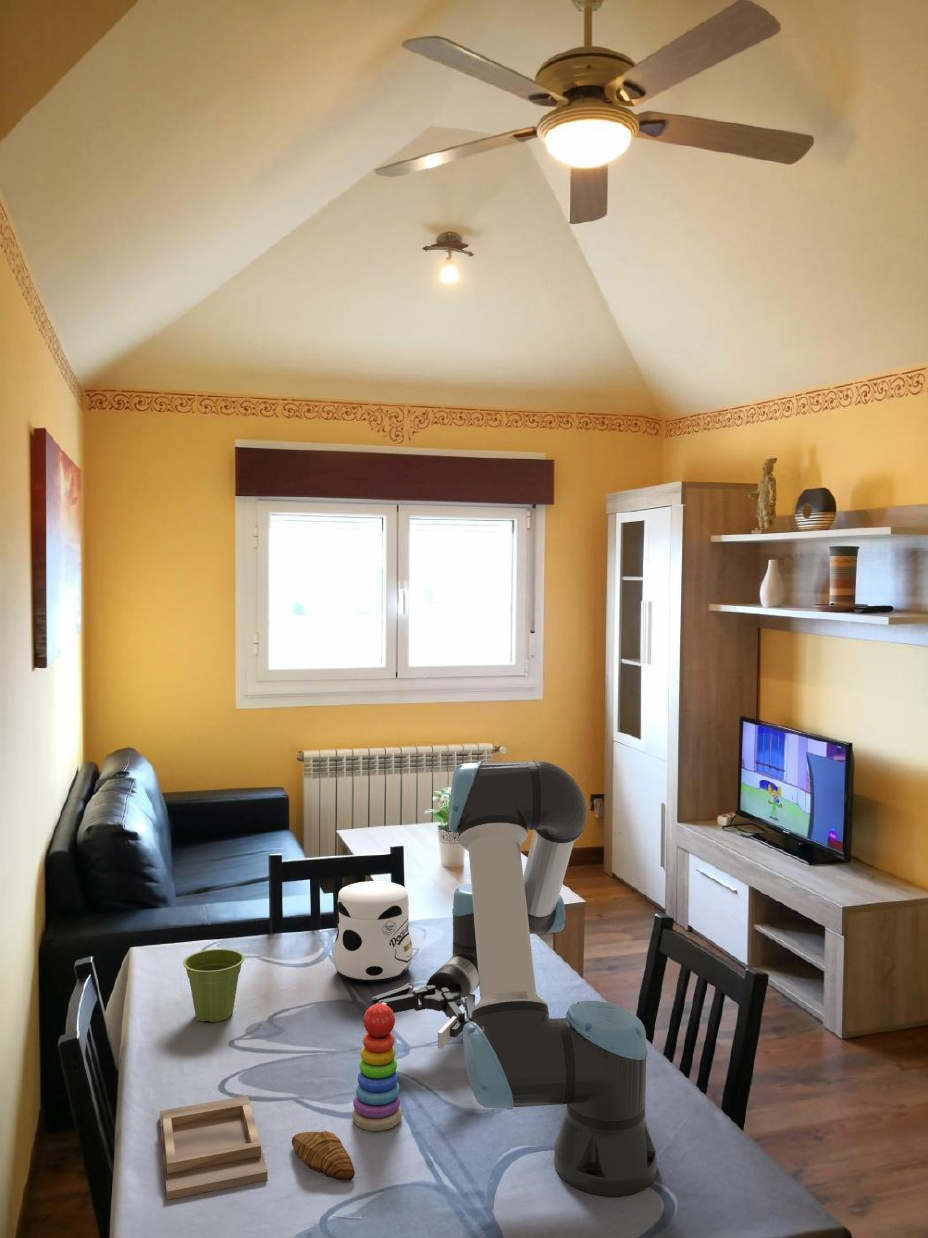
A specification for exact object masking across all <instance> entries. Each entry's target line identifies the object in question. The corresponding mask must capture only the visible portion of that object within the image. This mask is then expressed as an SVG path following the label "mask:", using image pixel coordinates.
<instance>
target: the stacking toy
mask: <svg viewBox="0 0 928 1238" xmlns="http://www.w3.org/2000/svg"><path fill="white" fill-rule="evenodd" d="M395 1017H396V1015H395V1013H393V1011H392V1009H391V1008H390V1007H389V1006H387V1005H385V1004H375V1005H372V1006H371V1005H370V1006H369V1007H368V1008H367V1010H366V1011H365V1013H364V1014H363V1027H364V1029H365V1032H366V1031H367V1032H368V1033H366V1034H365V1035H364V1037H363V1040H362V1044H363V1047H362V1048H361V1051H360V1057H361V1059H360V1061H359V1070H360V1071H359V1073H358V1074H357V1082H358V1084H356V1089H355V1096H354V1098H353V1102H352V1104H353V1109H352V1113H351V1118H352V1121H353V1123H354V1124H355V1125H356V1126H357V1127H359V1128H361V1129H362V1130H365V1131H370V1132H381V1131H386V1130H389V1129H391V1128H394V1127H395V1126H397V1124H399V1123H400V1121H401V1119H402V1116H403V1112H402V1107H401V1105H400V1103H401V1098H400V1097H401V1096H400V1095H399V1094H400V1090H401V1089H400V1088H401V1087H400V1084H399V1083H398V1080H399V1074H398V1072H397V1067H398V1062H397V1059H396V1058H395V1057H396V1050H395V1048H394V1045H395V1037H394V1034H393V1033H392V1031H393V1029H394V1027H395V1024H396V1018H395Z"/></svg>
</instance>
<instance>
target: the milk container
mask: <svg viewBox="0 0 928 1238" xmlns="http://www.w3.org/2000/svg"><path fill="white" fill-rule="evenodd" d="M409 912H410V910H409V894H408V890H407V888H406V887H405V886H403V885H401V884H399V883H397V882H396V883H395V882H390V881H383V880H382V881H381V880H380V881H376V880H375V881H374V880H372V881H360V882H359V881H358V882H355V883H350V884H348V885H346V886H344V887H342V888H340V890H339V891H338V897H337V917H336V918H337V933H336V937H335V942H334V945H333V961H334V965H335V969H336V971H337V972H338V973H339V974H340V975H342V977H345V978H347V979H349V980H352V981H357V982H362V983H364V982H365V983H369V982H370V983H378V982H385V981H386V982H387V981H390V980H392V979H396V978H398V977H399V976H401V975H403V974H404V973H406V972H407V971H408V970H409V968H410V966H411V964H412V960H413V952H414V951H413V943H412V937H411V935H410V931H409V916H410V915H409Z"/></svg>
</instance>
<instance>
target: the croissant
mask: <svg viewBox="0 0 928 1238" xmlns="http://www.w3.org/2000/svg"><path fill="white" fill-rule="evenodd" d="M291 1145H292V1148H293V1150H294V1152H295V1154H296V1156H297V1158H298V1159H300V1160H301V1161H302V1163H303V1164H304V1165H305V1166H306V1167H307V1168H308V1169H309V1170H312V1171H314V1172H316V1173H319V1174H321V1175H323V1176H326V1177H327V1178H330V1179H332V1180H336V1181H339V1182H340V1181H341V1182H351V1181H352V1180H353V1179H354V1177H355V1168H354V1165H353V1162H352V1159H351V1156H350V1154H349V1152H348V1151H347V1150H346V1148H345V1147H344V1145H343V1143H342V1141H341V1139H340V1138H339V1137H338V1136H337V1135H336V1134H334V1133H333V1132H330V1131H327V1130H324V1131H304V1132H299V1133H296V1134H295V1135H293V1136H292V1137H291Z"/></svg>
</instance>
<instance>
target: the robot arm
mask: <svg viewBox="0 0 928 1238" xmlns="http://www.w3.org/2000/svg"><path fill="white" fill-rule="evenodd" d="M450 787H451V789H450V797H449V806H448V807H449V809H448V823H447V824H448V831H449V832H451V833H453V834H457V836H458V843H459V845H460V846H461V847H462V848H463V849H465V850H466V851H468V857H469V860H468V861H469V870H470V871H469V872H470V873H469V874H470V882H471V883H469V884H462V885H460V886H458V887H457V888H456V889H455V890H454V892H453V900H452V901H453V902H452V903H453V904H452V955H451V957H450V959H448V960H447V961H446V962H445V963H444V964H443V965H442V966H441V967H440V968H439V969H437V970H436V971H435V972H434V974H432V975H431V976H430V977H429V979H428V981H427V982H426V985H424V986H422V987H419V988H417V987H414V983H413V982H408V983H406V984H404V985H403V986H401V987H398V988H395V989H392V990H388V991H387V992H383V993H381V994H377V995H373V996H372V997H371V998H370V999H371V1001H370V1003H371V1004H370V1007H371V1006H372V1005H375V1004H385V1005H387V1006H389V1007H390V1008H391V1009H392V1011H393V1013H394V1014H397V1013H402V1012H407V1011H411V1010H414V1011H416V1012H419V1011H423V1010H433V1011H436V1012H442V1013H444V1015H445V1016H446V1018H449V1020H448V1021H447V1022H446V1023H445V1024H444V1025H443V1026H442V1027H441V1028H440V1029H439V1030H438V1031H437V1048H438V1049H441V1050H442V1049H444V1047H445V1046H446V1045H447V1044H448V1043H449V1041H451V1040H452V1038H456V1037H458V1036H459V1035H460V1034H461V1033H462V1040H463V1041H462V1042H463V1046H464V1048H463V1053H464V1060H465V1066H466V1071H467V1076H468V1080H469V1084H470V1087H471V1091H472V1094H473V1096H474V1099H475V1100H476V1102H477V1103H478V1104H479V1105H480V1106H482V1107H483V1108H487V1109H507V1110H513V1108H526V1107H541V1106H542V1107H543V1106H561V1105H566V1111H565V1114H564V1116H563V1119H562V1122H561V1125H560V1128H559V1131H558V1134H557V1137H556V1139H555V1142H554V1147H553V1149H554V1151H553V1152H554V1153H553V1154H554V1155H553V1157H554V1159H553V1164H554V1168H555V1170H556V1171H557V1173H558V1175H559V1176H560V1177H561V1178H562V1179H563V1180H564V1181H565V1182H566V1183H567V1184H569V1185H571V1186H572V1187H574V1188H576V1189H578V1190H581V1191H583V1192H586V1193H588V1194H589V1193H590V1194H592V1195H593V1194H594V1195H596V1196H605V1197H621V1196H627V1195H632V1194H635V1193H638V1192H640V1191H643V1190H644V1189H646V1188H647V1187H648V1186H649V1185H651V1184H652V1183H653V1181H654V1180H655V1178H656V1176H657V1165H658V1163H657V1162H658V1160H657V1159H658V1158H657V1157H658V1156H657V1151H656V1148H655V1144H654V1142H653V1138H652V1134H651V1131H650V1128H649V1125H648V1122H647V1119H646V1100H647V1099H646V1091H647V1089H646V1087H647V1084H646V1083H647V1082H646V1081H647V1078H646V1077H647V1057H648V1054H649V1053H648V1048H647V1037H646V1036H647V1035H646V1034H647V1033H646V1028H645V1026H644V1024H643V1022H642V1020H641V1019H640V1018H639V1017H638V1016H637V1015H636V1014H635V1013H633V1012H631V1011H630V1010H628V1009H626V1008H624V1007H622V1006H619V1005H617V1004H613V1003H610V1002H605V1001H600V1000H599V1001H598V1000H581V1001H577V1002H576V1003H572V1004H571V1005H570V1006H568V1009H567V1011H566V1014H565V1017H562V1018H561V1017H560V1018H559V1017H557V1018H556V1017H555V1018H551V1017H550V1013H549V1005H548V1003H547V1002H546V1001H545V1000H544V999H542V998H541V997H540V996H539V994H538V993H537V985H536V977H535V969H534V959H533V952H532V951H533V949H532V943H531V935H536V934H539V935H540V934H541V935H547V934H552V933H559V932H561V931H562V930H563V929H564V927H565V924H566V922H565V921H566V907H565V903H564V898H563V897H562V895H561V890H562V886H563V883H564V880H565V876H566V872H567V869H568V866H569V862H570V857H571V854H572V851H573V848H574V844H575V841H577V840H578V839H579V838H580V837H581V836H582V834H583V832H584V830H585V828H586V827H585V826H586V822H587V817H588V807H587V802H586V798H585V795H584V793H583V791H582V789H581V787H580V786H579V784H578V783H577V781H576V780H575V779H574V777H573V776H572V775H570V773H568V772H567V771H566V770H564V769H563V768H561V767H560V766H558V765H556V764H554V763H551V762H549V761H541V760H532V761H498V762H497V761H491V762H490V761H482V760H479V761H477V762H466V763H464V762H463V763H461V764H458V765H457V766H456V767H455V769H454V771H453V775H452V782H451V786H450ZM529 831H533V833H532V836H531V841H530V846H529V850H528V856H527V860H526V864H525V869H523V863H522V861H523V860H522V852H521V847H522V845H524V844H525V842H526V841H527V839H528V837H529V834H528V832H529ZM523 870H524V871H523ZM478 988H479V997H480V998H479V1001H478V1002H477V1004H476V994H475V993H474V992H475V991H476V990H477V989H478ZM419 1003H420V1004H419ZM460 1006H462V1007H463V1008H464V1012H462V1010H461V1009H460ZM365 1033H366V1034H367V1033H368V1032H367V1031H366V1030H365Z"/></svg>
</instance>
